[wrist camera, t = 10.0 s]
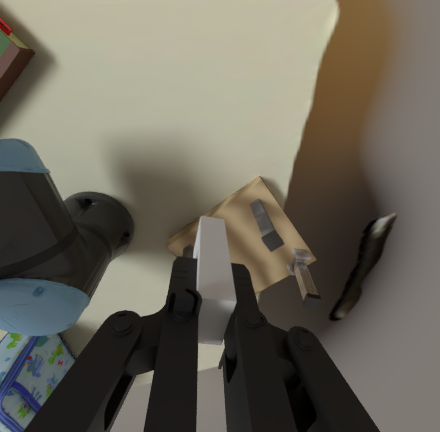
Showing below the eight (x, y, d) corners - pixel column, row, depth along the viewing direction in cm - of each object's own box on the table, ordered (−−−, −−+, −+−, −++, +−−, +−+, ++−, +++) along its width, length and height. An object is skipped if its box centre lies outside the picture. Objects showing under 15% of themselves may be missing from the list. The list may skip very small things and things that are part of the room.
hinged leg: (293, 253, 53) (304, 255, 53) (290, 262, 54) (300, 264, 54) (308, 296, 41) (321, 299, 41) (303, 307, 43) (316, 309, 43)
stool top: (230, 298, 63) (238, 358, 48) (168, 239, 53) (155, 294, 39) (311, 251, 57) (346, 305, 43) (259, 176, 47) (282, 213, 33)
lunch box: (86, 370, 74) (47, 464, 56) (50, 373, 73) (-1, 468, 55) (57, 314, 62) (-5, 410, 43) (14, 316, 61) (-67, 415, 43)
